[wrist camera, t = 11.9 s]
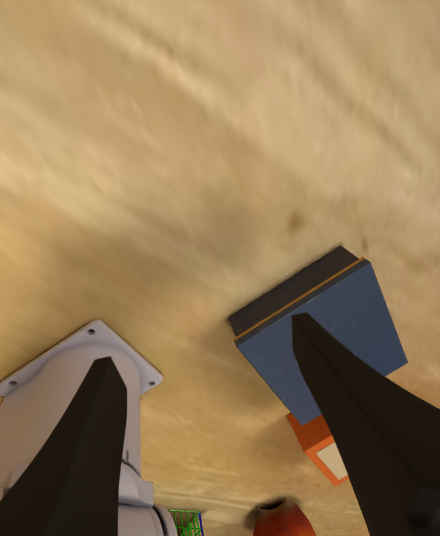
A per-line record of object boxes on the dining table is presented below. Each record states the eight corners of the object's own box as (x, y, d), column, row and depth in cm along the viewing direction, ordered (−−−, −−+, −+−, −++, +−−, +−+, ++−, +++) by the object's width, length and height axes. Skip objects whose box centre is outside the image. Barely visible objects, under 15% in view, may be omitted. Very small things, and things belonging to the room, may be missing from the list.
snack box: (350, 431, 38) (372, 466, 34) (316, 451, 38) (335, 487, 34) (324, 392, 33) (347, 427, 29) (286, 415, 33) (304, 453, 30)
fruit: (301, 490, 38) (334, 576, 35) (294, 483, 45) (320, 553, 42) (238, 516, 38) (264, 606, 34) (240, 504, 45) (262, 578, 41)
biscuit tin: (286, 395, 32) (302, 426, 29) (224, 317, 26) (236, 346, 23) (382, 337, 31) (408, 362, 28) (342, 241, 25) (370, 261, 22)
